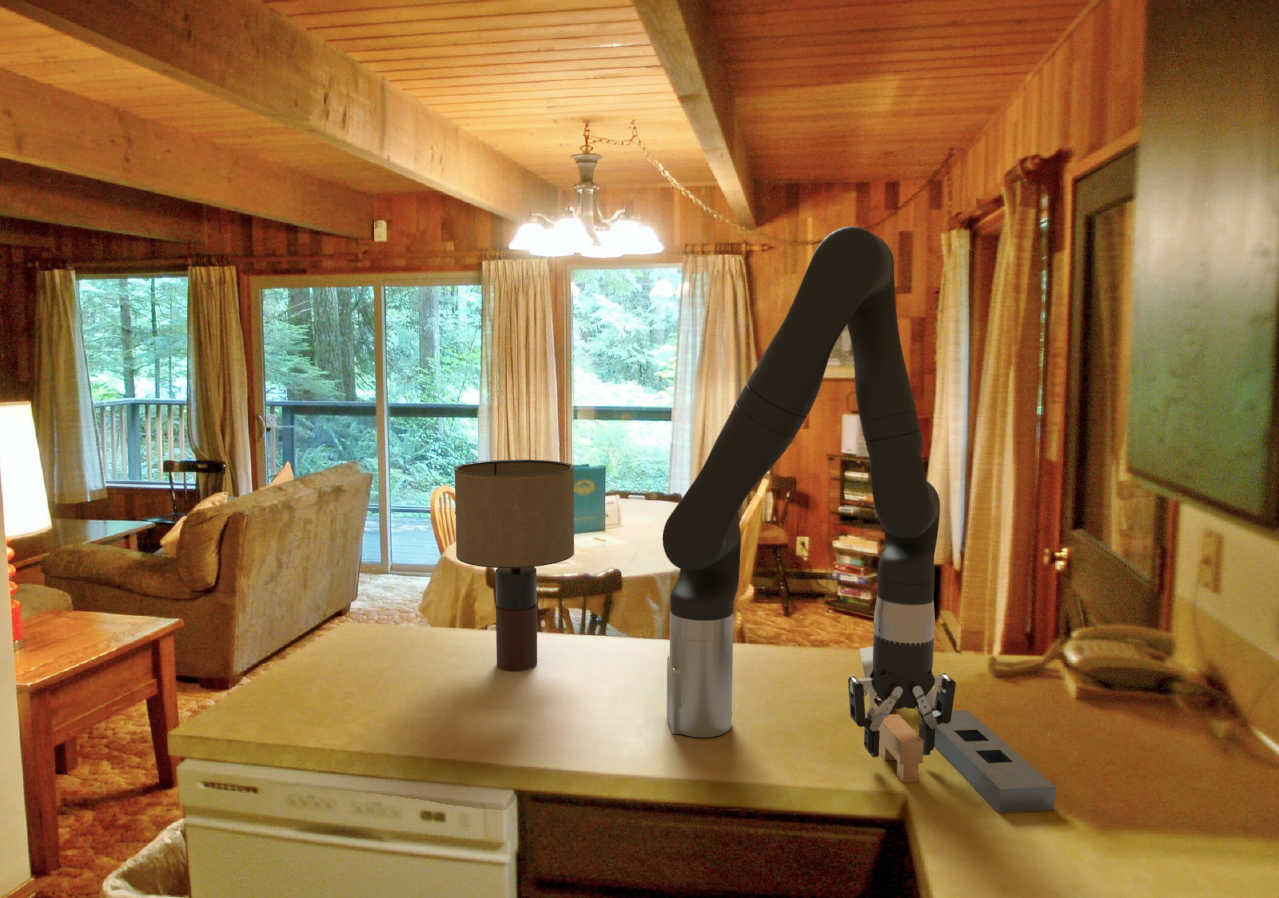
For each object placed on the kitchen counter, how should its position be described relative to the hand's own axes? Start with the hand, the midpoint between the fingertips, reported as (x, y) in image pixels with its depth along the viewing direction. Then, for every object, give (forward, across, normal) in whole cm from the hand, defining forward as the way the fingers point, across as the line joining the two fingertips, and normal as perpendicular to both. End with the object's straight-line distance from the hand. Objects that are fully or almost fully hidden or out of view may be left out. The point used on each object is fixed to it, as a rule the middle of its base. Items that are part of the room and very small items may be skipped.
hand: (898, 753), depth 112 cm
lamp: (+2, -52, +42) cm, 67 cm away
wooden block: (+2, 0, 0) cm, 2 cm away
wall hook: (+2, +8, +19) cm, 21 cm away
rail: (+2, +11, -1) cm, 11 cm away
